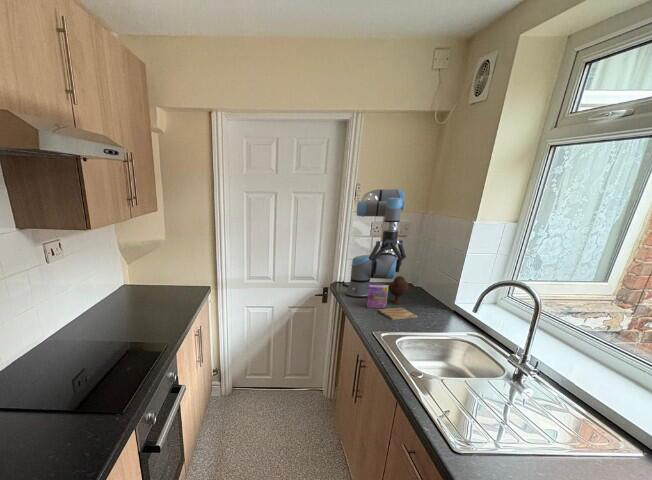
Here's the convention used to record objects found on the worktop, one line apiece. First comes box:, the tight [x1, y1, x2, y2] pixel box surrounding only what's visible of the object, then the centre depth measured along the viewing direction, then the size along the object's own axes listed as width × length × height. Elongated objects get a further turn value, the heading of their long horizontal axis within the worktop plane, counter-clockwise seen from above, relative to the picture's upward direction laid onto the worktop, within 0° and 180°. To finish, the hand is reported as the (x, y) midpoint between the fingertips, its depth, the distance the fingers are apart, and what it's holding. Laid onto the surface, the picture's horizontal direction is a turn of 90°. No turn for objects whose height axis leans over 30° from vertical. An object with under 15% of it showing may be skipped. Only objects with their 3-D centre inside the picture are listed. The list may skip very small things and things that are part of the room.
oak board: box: [377, 307, 419, 321], centre depth 218 cm, size 16×14×1 cm
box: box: [366, 283, 389, 309], centre depth 229 cm, size 10×6×12 cm, turn 73°
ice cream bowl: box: [388, 275, 410, 305], centre depth 235 cm, size 11×11×15 cm
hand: (385, 272), depth 222 cm, fingers open, 13 cm apart
